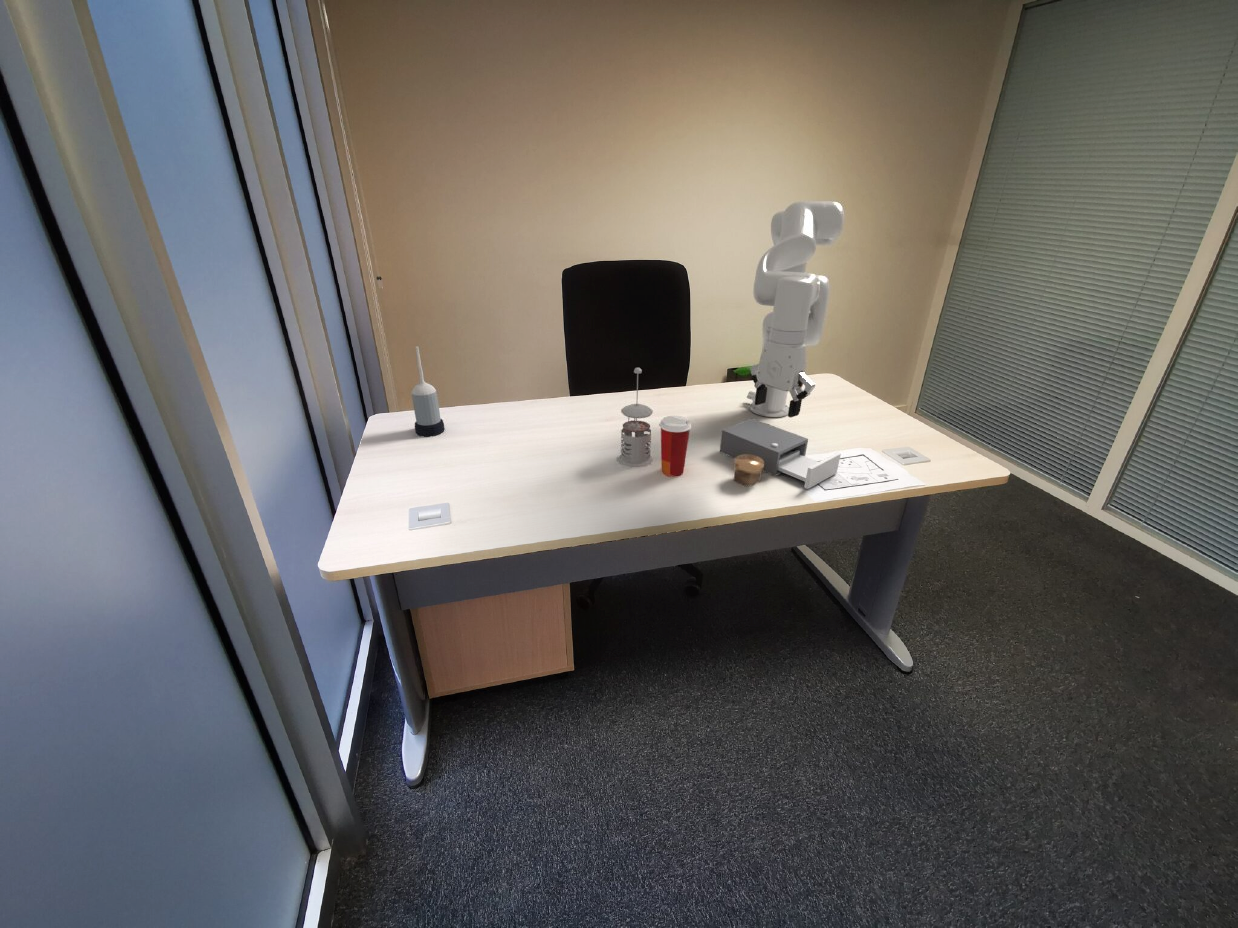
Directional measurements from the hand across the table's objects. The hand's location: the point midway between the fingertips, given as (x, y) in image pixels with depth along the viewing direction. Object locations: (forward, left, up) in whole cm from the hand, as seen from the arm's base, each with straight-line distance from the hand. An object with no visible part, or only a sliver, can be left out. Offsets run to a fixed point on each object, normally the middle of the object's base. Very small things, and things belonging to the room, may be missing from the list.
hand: (776, 409), depth 126 cm
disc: (-2, -4, -15) cm, 16 cm away
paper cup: (-17, -15, -19) cm, 30 cm away
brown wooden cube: (-2, -4, -18) cm, 19 cm away
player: (-8, +10, -18) cm, 22 cm away
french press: (-29, -17, -19) cm, 39 cm away
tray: (+1, +10, -18) cm, 20 cm away
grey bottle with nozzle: (-80, -52, -19) cm, 98 cm away
